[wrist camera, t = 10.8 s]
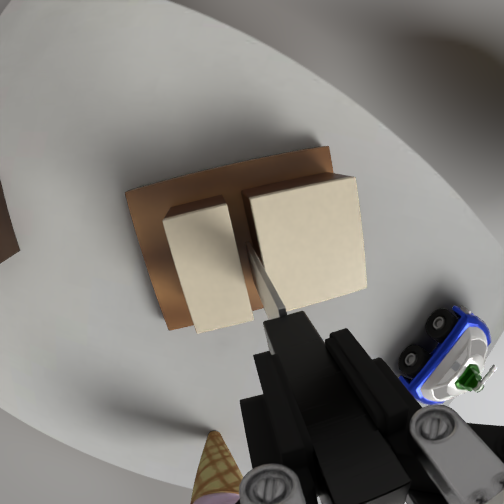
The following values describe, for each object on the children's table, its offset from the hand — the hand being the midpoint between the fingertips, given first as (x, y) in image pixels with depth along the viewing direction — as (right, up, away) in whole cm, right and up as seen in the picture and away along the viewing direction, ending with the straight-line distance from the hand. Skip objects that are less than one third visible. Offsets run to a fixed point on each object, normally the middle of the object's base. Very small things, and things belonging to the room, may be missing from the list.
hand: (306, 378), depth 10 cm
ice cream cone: (-6, -17, +23) cm, 29 cm away
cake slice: (-5, +4, +15) cm, 17 cm away
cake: (+2, +6, +16) cm, 17 cm away
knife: (-2, +3, +12) cm, 13 cm away
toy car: (+21, -8, +25) cm, 33 cm away
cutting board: (-2, +5, +17) cm, 18 cm away
